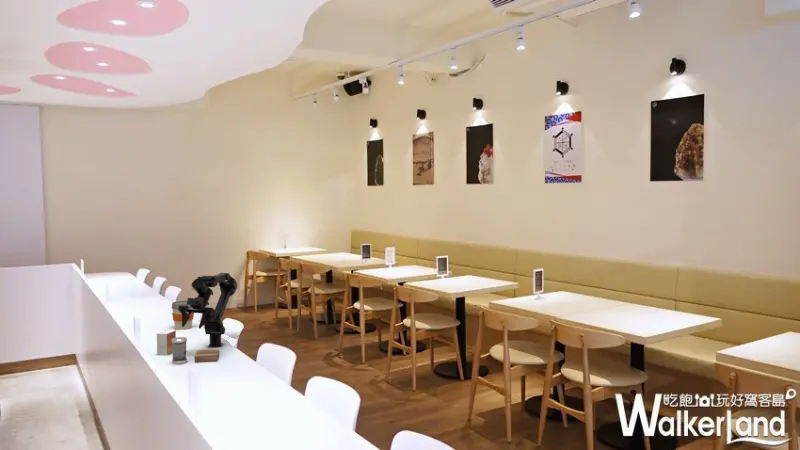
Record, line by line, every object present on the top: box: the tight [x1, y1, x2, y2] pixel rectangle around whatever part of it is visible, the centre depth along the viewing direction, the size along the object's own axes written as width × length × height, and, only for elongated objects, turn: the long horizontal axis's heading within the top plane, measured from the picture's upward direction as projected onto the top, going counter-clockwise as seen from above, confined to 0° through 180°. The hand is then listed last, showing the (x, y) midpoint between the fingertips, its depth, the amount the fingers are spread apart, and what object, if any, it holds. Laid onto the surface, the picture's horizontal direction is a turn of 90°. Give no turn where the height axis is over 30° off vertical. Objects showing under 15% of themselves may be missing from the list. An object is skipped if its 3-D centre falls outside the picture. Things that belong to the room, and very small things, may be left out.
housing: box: [171, 336, 188, 365], centre depth 274 cm, size 7×7×11 cm
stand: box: [194, 349, 220, 363], centre depth 279 cm, size 10×10×3 cm
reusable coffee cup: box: [171, 300, 195, 331], centre depth 343 cm, size 13×13×15 cm
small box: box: [156, 329, 177, 356], centre depth 290 cm, size 8×6×10 cm
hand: (190, 327), depth 281 cm, fingers open, 9 cm apart
